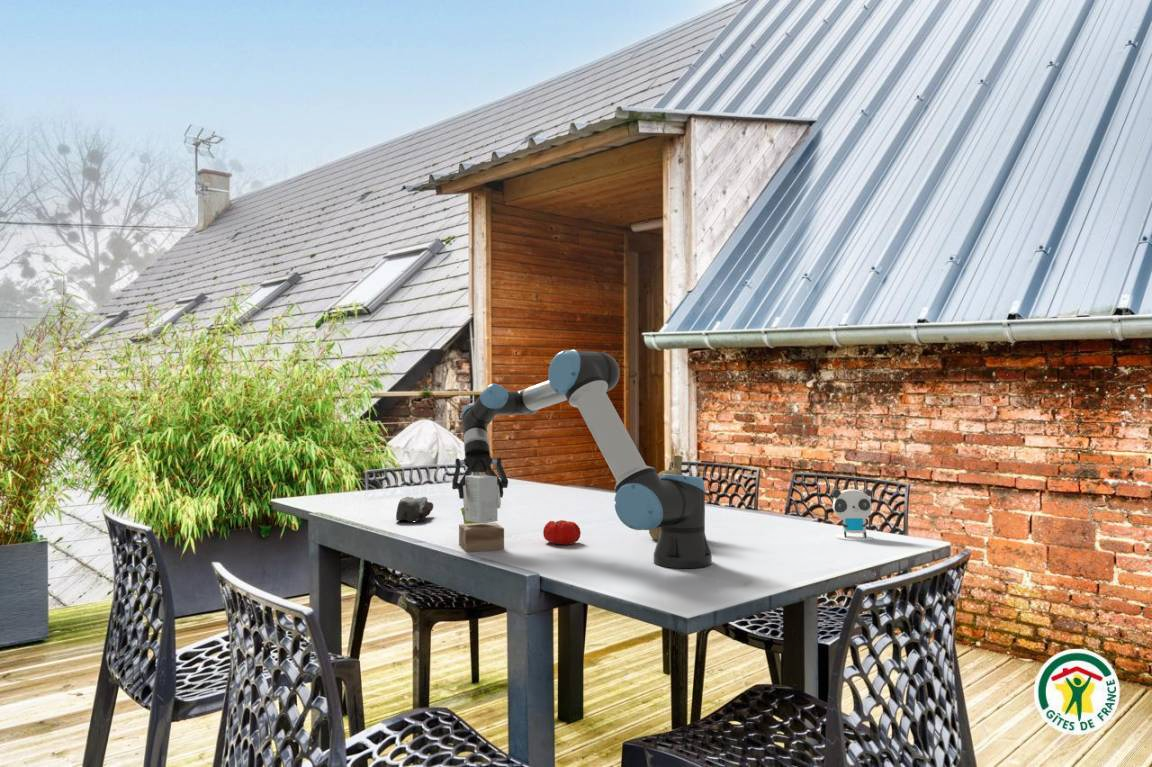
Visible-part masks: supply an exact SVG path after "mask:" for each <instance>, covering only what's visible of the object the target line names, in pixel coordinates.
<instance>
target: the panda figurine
mask: <svg viewBox="0 0 1152 767" xmlns="http://www.w3.org/2000/svg"><path fill="white" fill-rule="evenodd" d="M830 492H831V493H830V494H831V496H832V497H833V498H834V499H833V502H832V510H833V512H834V513H835V514H836V516H837V517H839V518H840V525H841V533H836V534H834V538H835V539H837V540H842V541H849V542H850V541H851V542H867V541H873V540H874V537H873V536H871V535H867V526H868V524H869V519H868V518H869V516H870V515H871V513H872V510H873V506H872V501H871V498H870V497H872V496H873V492H872V490H870V489H869V488H864V489H863V490H859V489H854V488H853V489H852V488H849V489H844V490H840V489H838V488H833V489H831V491H830Z"/></svg>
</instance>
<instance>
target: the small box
mask: <svg viewBox="0 0 1152 767" xmlns="http://www.w3.org/2000/svg"><path fill="white" fill-rule="evenodd" d="M465 486H466V495H467V509H465V520H467V521H472V522H476V523H493V522H495V523H496V522H498V508H497V477H496V476H488V475H486V474H474V475H473V474H471V475H470V476H465Z"/></svg>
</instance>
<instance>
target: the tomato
mask: <svg viewBox="0 0 1152 767" xmlns="http://www.w3.org/2000/svg"><path fill="white" fill-rule="evenodd" d="M542 534H543V538H544V539H545V541H547V542H550V543H553V544H555V545H563V546H569V545H572V544H574V543H576V542H578V541H579V540H580V537H581V529H580V527H579V524H577V523H576V522H574V521H567V520H564V519H560V520H558V521H557V520H556V521H554V520H550V521H548V522H547V523H546V524H545V525H544V527H543V531H542Z"/></svg>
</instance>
